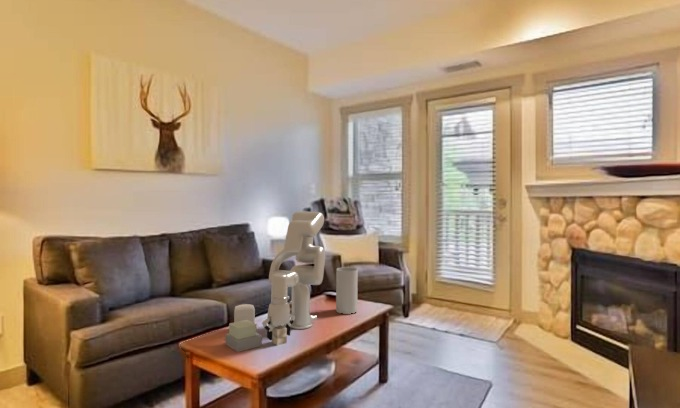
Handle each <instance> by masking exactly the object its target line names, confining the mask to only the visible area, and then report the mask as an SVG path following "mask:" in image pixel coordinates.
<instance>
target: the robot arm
mask: <svg viewBox="0 0 680 408" xmlns="http://www.w3.org/2000/svg"><path fill="white" fill-rule="evenodd" d="M291 219H292V221H290V222H289V223H288V226H287V230H286V237H285V240H284V245H283V249H282V250H281V251H279V252H278V254H277V255H276V256H274V258H273V260H272V262H271V265H270V268H269V275H268V282H269V284H270V285H271V289H270V290H271V296H270V297H271V300H270V303H269V305H268V309H267V316H266V317H267V318H266V319H265V320H263V321H262V322H261V324H262V326H263V328H264V329H265V330H266V338H267V339H268V340H269V341H272V329H273V327H276V326H284V325H285V326H284V327H285V328H287V337H289V336H291V329H294V330H304V329H305V330H306V329H310V328H311V327H312V326H313V320H317V318H318V317H317V315H311V313H310V312H311V311H310V310H311V292H310V289H309V287H308V285H312V286H320V285H322V283H323V280H324V273H325V263H326V251H325V248H324V247H323V246H320V245H314V238H315V237H316V236H317V234H318V233H319V232H320V231H321V229H322V227H323V226H324V223H325V217H324V214H323V213H322V212H319V211H304V210H303V211H301V210H300V211H296V212H294V213H293V214H292V217H291ZM292 257H295V260H296V262H298V263H300V264H309V265H300V264H299V265H294V266H292V268H291V269H290V270H286V269H285V270H283V269H280V267H281V264H282V263H284V261H286V260H288V259H290V258H292ZM310 264H311V265H310ZM312 264H313V266H312ZM289 288H291V300H292V314H290V308H289V302H288V301H289V300H290V296H289V295H288V290H289Z"/></svg>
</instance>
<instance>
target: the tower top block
mask: <svg viewBox="0 0 680 408" xmlns="http://www.w3.org/2000/svg"><path fill="white" fill-rule="evenodd" d="M257 327H258V325H257V324H256V322H255V323H253V322H250V321H248V320H243V321H238V322H230V323H229V324H228V333H229V335H231V336H233V337H235V338H236V339H238V340H239V339H243V338H247V337H251V336H256V333H257Z"/></svg>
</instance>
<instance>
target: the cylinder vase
mask: <svg viewBox="0 0 680 408" xmlns="http://www.w3.org/2000/svg"><path fill="white" fill-rule="evenodd" d="M335 274H336V276H335V277H336V281H335V282H336V283H335V284H336V287H335V289H336V292H335V293H336V294H335V295H336V296H335V311H336V312H337V313H338V314H341V313H343V314H342V315H352V314H351V313H353V314H356V313H357V312H358V289H359V288H358V284H359V283H358V278H359V277H358V276H359V269H358V268H355V267H344V266H343V267H337V268H336V273H335ZM355 312H356V313H355Z"/></svg>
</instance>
